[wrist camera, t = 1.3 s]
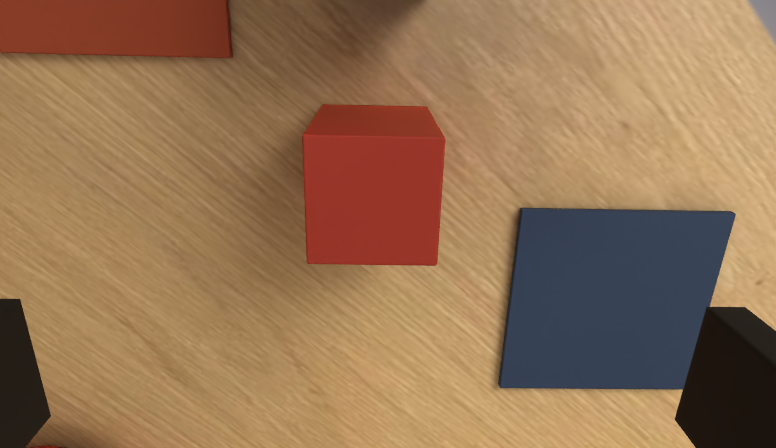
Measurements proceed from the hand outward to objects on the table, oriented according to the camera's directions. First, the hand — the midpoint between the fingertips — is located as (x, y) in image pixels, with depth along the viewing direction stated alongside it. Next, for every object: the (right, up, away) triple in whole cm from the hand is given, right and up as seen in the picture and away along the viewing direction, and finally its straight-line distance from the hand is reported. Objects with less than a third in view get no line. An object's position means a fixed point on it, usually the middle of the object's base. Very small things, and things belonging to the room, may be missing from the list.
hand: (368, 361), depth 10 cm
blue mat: (+12, -2, +18) cm, 22 cm away
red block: (0, +6, +15) cm, 16 cm away
